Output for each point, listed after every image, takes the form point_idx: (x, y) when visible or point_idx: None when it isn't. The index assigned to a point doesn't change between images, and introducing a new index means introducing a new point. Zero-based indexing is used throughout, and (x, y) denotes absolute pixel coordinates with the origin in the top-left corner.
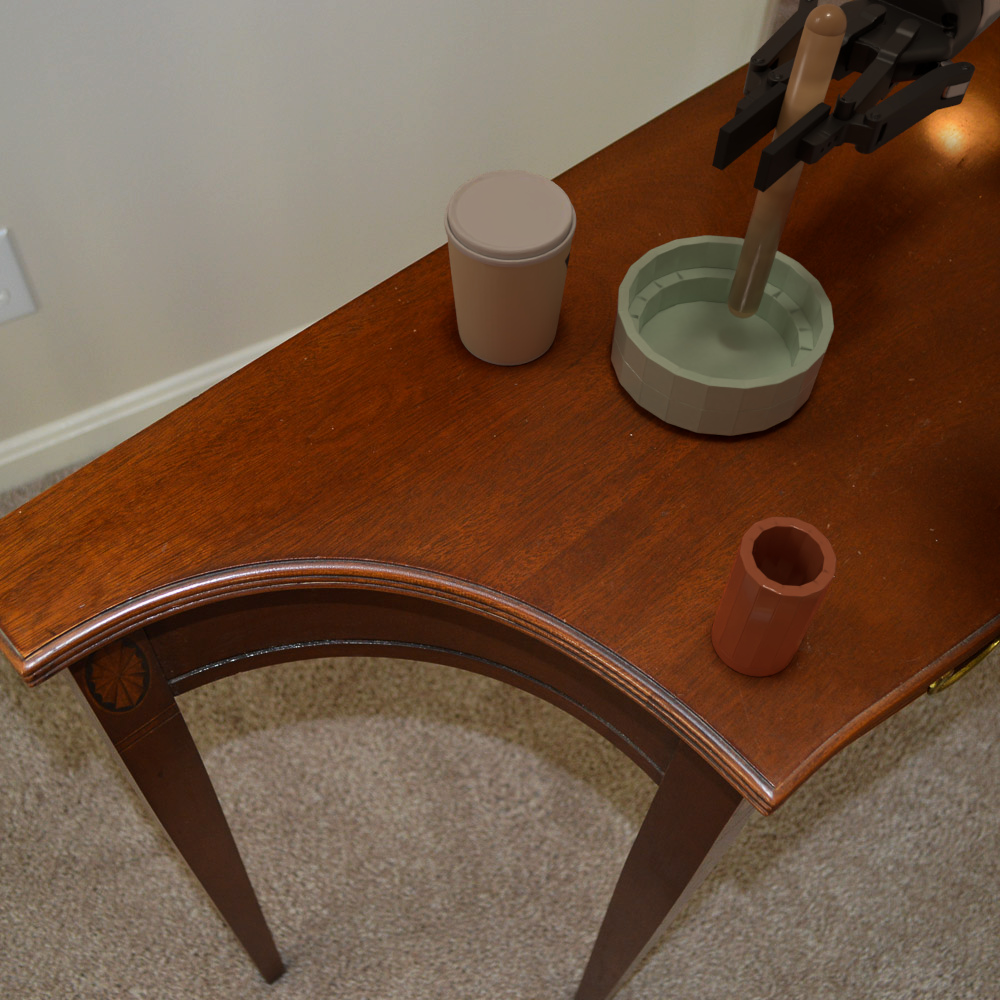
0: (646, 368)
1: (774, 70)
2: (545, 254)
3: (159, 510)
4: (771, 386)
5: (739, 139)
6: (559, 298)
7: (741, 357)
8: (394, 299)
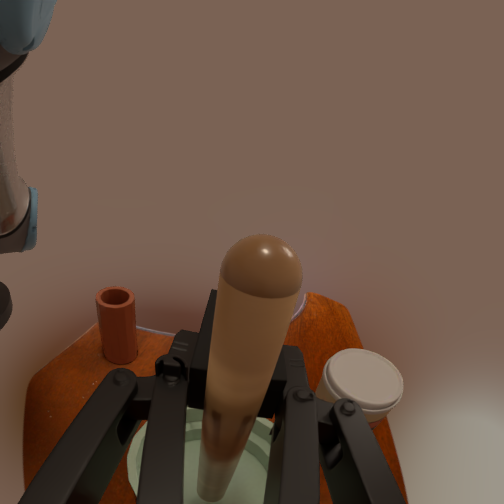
0: None
1: (314, 403)
2: (324, 368)
3: (328, 320)
4: None
5: None
6: None
7: (194, 491)
8: None
